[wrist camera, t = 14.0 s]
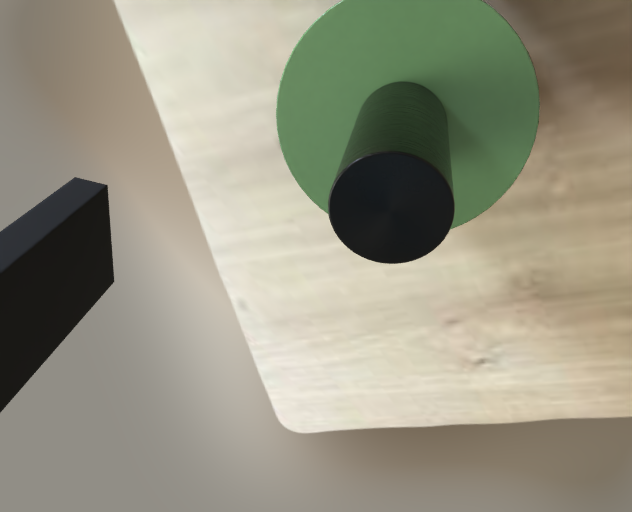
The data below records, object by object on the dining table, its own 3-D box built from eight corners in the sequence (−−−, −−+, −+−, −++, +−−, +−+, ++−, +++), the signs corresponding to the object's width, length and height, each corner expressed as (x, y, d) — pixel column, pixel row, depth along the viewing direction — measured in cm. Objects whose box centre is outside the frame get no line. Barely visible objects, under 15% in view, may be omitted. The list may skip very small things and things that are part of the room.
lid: (510, -70, 20) (565, -64, 12) (551, 197, 25) (607, 323, 17) (243, 34, 24) (151, 90, 16) (328, 246, 29) (290, 367, 21)
